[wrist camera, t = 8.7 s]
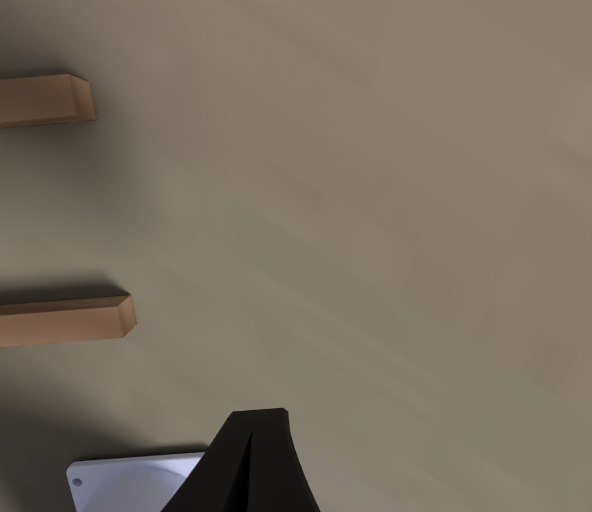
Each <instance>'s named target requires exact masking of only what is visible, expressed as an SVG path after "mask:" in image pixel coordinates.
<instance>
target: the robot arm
mask: <svg viewBox="0 0 592 512" xmlns="http://www.w3.org/2000/svg"><path fill="white" fill-rule="evenodd" d="M66 475H67V478H68V482H69V486H70V489H71V493H72V496H73V500H74V504H75V507H76V511H77V512H320V509H319V507H318V505H317V503H316V501H315V499H314V497H313V494H312V492H311V490H310V487H309V485H308V483H307V480H306V478H305V475H304V473H303V470H302V467H301V465H300V462H299V459H298V457H297V454H296V451H295V448H294V444H293V440H292V437H291V433H290V425H289V415H288V411H287V410H285V409H284V408H273V409H260V410H247V411H233V412H232V413H231V414H230V415H229V417H228V418H227V420H226V421H225V423H224V424H223V426H222V427H221V429H220V431H219V432H218V434H217V435H216V437H215V438H214V440H213V441H212V443H211V444H210V446H209V447H208V449H207V450H206V452H199V453H185V454H172V455H158V456H145V457H131V458H118V459H104V460H91V461H77V462H73V463H72V464H71V465H70V466H69V468H68V469H67V471H66ZM78 478H79V479H81V480H79V479H78Z"/></svg>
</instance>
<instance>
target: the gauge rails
mask: <svg viewBox="0 0 592 512" xmlns="http://www.w3.org/2000/svg"><path fill="white" fill-rule="evenodd" d="M91 120H97V119H96V114H95V109H94V104H93V99H92V94H91V89H90V83H89V82H87V81H85V80H82V79H80V78H77V77H75V76H72V75H70V74H62V75H50V76H38V77H26V78H14V79H2V80H0V128H6V127H18V126H30V125H42V124H54V123H67V122H79V121H91ZM136 324H137V322H136V317H135V312H134V307H133V302H132V297H131V295H125V296H113V297H100V298H87V299H74V300H61V301H49V302H36V303H23V304H10V305H0V347H8V346H21V345H34V344H47V343H60V342H73V341H86V340H99V339H112V338H123V337H124V336H125V335H126V334H127V333H128V332H129V331H130V330H131V329H132V328H133V327H134V326H135V325H136Z"/></svg>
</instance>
